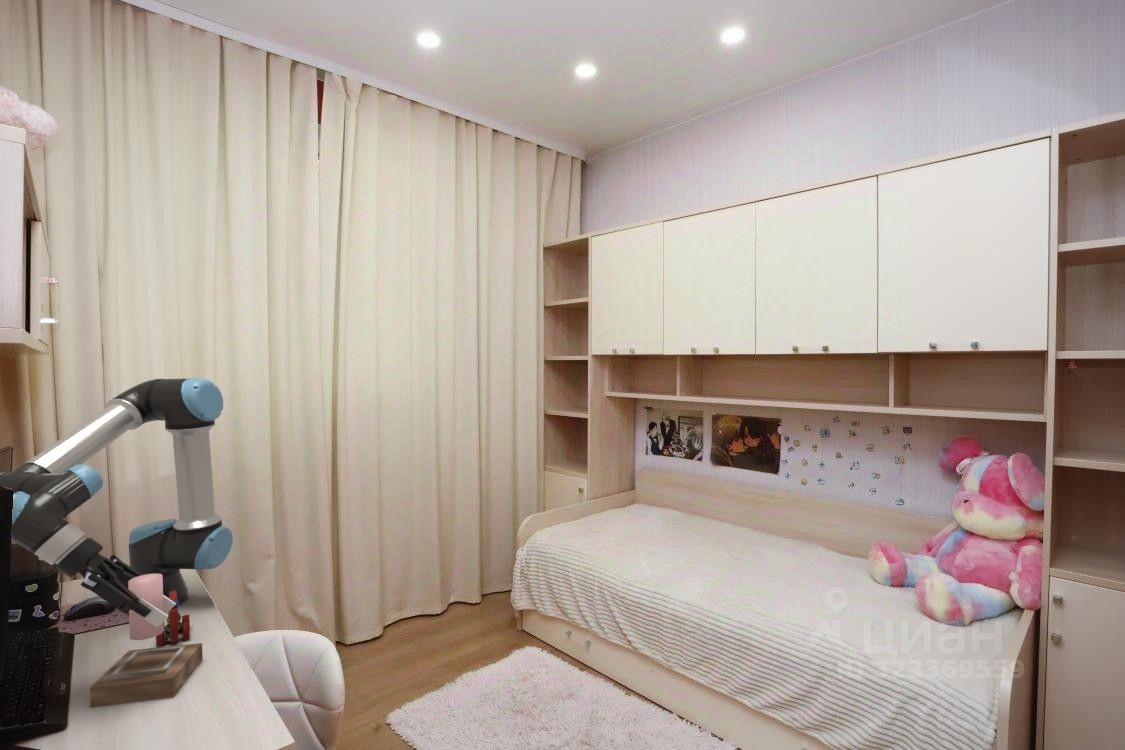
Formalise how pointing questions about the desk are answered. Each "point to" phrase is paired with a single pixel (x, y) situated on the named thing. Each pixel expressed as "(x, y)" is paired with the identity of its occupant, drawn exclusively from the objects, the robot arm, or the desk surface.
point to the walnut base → (146, 675)
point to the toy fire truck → (174, 624)
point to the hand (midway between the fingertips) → (166, 614)
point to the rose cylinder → (153, 593)
